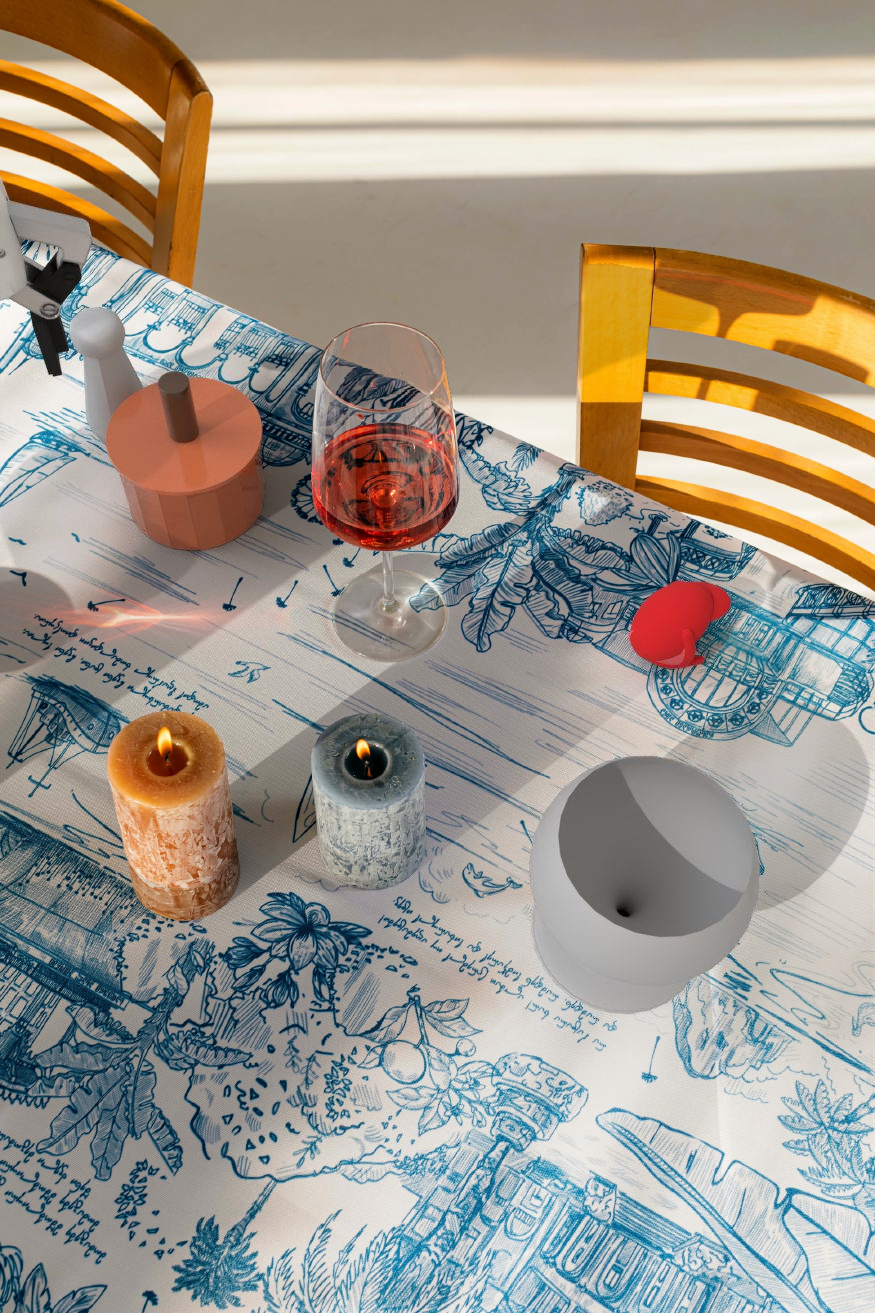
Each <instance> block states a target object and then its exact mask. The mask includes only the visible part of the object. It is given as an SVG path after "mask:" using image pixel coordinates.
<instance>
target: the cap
mask: <svg viewBox="0 0 875 1313" xmlns="http://www.w3.org/2000/svg"><path fill="white" fill-rule="evenodd" d="M731 605H732V600H731V596H730V595H729V593H728V592H726V590H725V589H723V588H721V587H720V586H718V585H716V584H713V583H709V582H704V581H684V580H676V581H673V582H671V583H669V584H667V585H665V586H663V587H661V588H659V589H658V590H656V591H654V592H653V593H652V594H650V596H648V597H647V598H646V599H645V600H644V601H643V603H642V604H641V605H640V606H639V607H638V609H637V611H636V612H635V615H634V616H633V618H632V621H631V624H630V629H629V632H628V636H627V638H628V642H629V644H630V646H631V648H632V649H633V651H634V652H635V653H636V655H638V656H639V657H640V658H642V659H644V660H646V661H647V662H649V663H652V664H653V665H654V666H657V667H660V668H663V669H669V670H675V669H686V668H688V667H689V668H690V667H693V666H700V665H702V664H703V663H704V662H705V656H704V655H696V653H697V648H696V643H697V641H699V640H700V639H701V637H703V635H704V634H705V632H706V631H707V629H708V628H709V625H710V623H711V622H714V621H717V620H718V619H720V618H722V617H723V616H725V615H726V614H727V613H728V612H729V610H730V608H731Z"/></svg>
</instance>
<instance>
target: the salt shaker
mask: <svg viewBox="0 0 875 1313" xmlns="http://www.w3.org/2000/svg"><path fill="white" fill-rule="evenodd" d="M68 333H69V334H68V335H69V338H70V340H71V343H72V346H73V347H74V350H75V351H76V353H79V354H80V355H82V360H83V362H82V363H83V379H84V380H83V381H84V402H85V403H84V404H85V419H86V422H87V424H88V426H89V428H90V430H91V432H92V434H93V435H95V436H96V437H97V438H98V439H99V440H100V441H101V442H102V443H103V444H104V445H106V431H107V427H108V424H109V421H110V419H111V417H112V416H113V414H114V412H115V411H116V410H117V408H118V407H119V406H120V405H121V404H122V403H123V402H124V401H125V400H126V399H127V398H128V397H130V396H131V395H132V394H134V393H135V392H137V391H139V390H140V389H142V388H144V387H145V386H144V385H143V383H142V381H141V379H140V377H139V375H138V374H137V372H136V370H135V367H134V366H133V364H132V362H131V361H130V360H131V359H130V358H129V356H128V354H127V352H126V351H125V348H124V343H125V338H126V327H125V326H124V323H123V322H122V319H121V318H120V316H119V314H118V313H117V312H115V311H113V310H112V309H110V308H106V307H100V306H95V307H87V308H85V309H83V310H81V311H79V312H78V313H76V314H75V316H74V317H73V318H72V319H71V320H70V323H69V327H68Z"/></svg>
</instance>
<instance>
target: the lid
mask: <svg viewBox="0 0 875 1313" xmlns="http://www.w3.org/2000/svg"><path fill="white" fill-rule="evenodd" d="M143 387H144V388H142V389H140V390H139V391H137V392H135V393H134V394H132V395H131V396H130V397H128V398H127V399H126V400H125V401H124V402H123V403H122V404H121V405H120V406H119V407H118V408H117V410H116V411H115V412H114V414H113V416H112V417H111V419H110V421H109V424H108V427H107V431H106V444H105V448H106V452H107V455H108V457H109V461H110V463H111V464H112V466H113V468H114V469H115V471H116V472H117V473H118V475H119V476H120V475H121V476H122V477H123V478H125V479H126V480H127V481H129V482H130V483H132V484H133V485H135V486H137V487H139V488H141V489H143V490H146V491H149V492H152V493H157V494H161V495H170V496H186V495H195V494H200V493H204V492H208V491H211V490H214V489H217V488H219V487H222V486H224V485H225V484H227V483H229V482H231V481H233V480H234V479H235V478H237V477H238V476H240V475H241V474H242V473H243V472H244V471H245V470H246V469H247V468H248V467H249V466H250V465H251V464H252V462H253V461H254V459H255V458H256V456H257V454H258V452H259V450H260V451H261V446H262V442H263V437H264V436H263V435H264V432H263V431H264V430H263V423H262V419H261V414H260V413H259V411H258V408H257V407H256V406H255V404H254V403H253V401H252V400H251V399H250V398H249V397H248V396H247V395H246V394H244V392H242V391H241V390H239V389H238V388H236V387H235V386H233V385H230V384H229V383H226V382H224V381H220V380H217V379H213V378H209V377H208V378H207V377H200V376H188V375H187V374H186V373H184V372H182V371H177V370H173V371H172V370H171V371H168V372H165V373H163V374H162V375H161V376H159V378H158V380H157V381H156V382H154V383H151V384H148V385H146V386H143Z"/></svg>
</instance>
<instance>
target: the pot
mask: <svg viewBox="0 0 875 1313" xmlns="http://www.w3.org/2000/svg"><path fill="white" fill-rule="evenodd" d="M261 454H262V453H261V449H260V450H259V452H258V454H257V456H256V458H255V459H254V461H253V462H252V464H251V465H250V466H249V467H248V468H247V469H246V470H245V471H244V472H243V473H242V474H241V475H240V476H238V477H237V478H235V479H234V480H233V481H231V482H229V483H227V484H225V485H224V486H222V487H219V488H217V489H214V490H211V491H208V492H204V493H200V494H195V495H186V496H170V495H161V494H157V493H152V492H149V491H146V490H143V489H141V488H139V487H137V486H135V485H133V484H132V483H130V482H129V481H127V480H126V479H125V478H123V477H122V476H121V475H120V474H119V478H120V480H121V485H122V488H123V491H124V493H125V498H126V501H127V504H128V508H129V511H130V516H131V517H132V519H133V521H134V523H135V525H136V526H137V527H138V529H139V530H140V531H141V532H142V533H143V534H144V535H145V536H146V537H148V538H149V539H150V540H152V541H153V542H155V543H158V544H159V545H162V546H164V547H167V548H172V549H175V550H181V551H182V550H183V551H202V550H203V551H204V550H209V549H213V548H217V547H220V546H223V545H225V544H227V543H231V542H232V541H233V540H235V539H237V538H239V537H240V536H242V535H243V534H244V533H246V532H247V531H248V530H249V529H250V528H251V527H252V526H253V524H255V522H256V520H258V518H259V516H260V514H261V512H262V510H263V506H264V503H265V494H266V493H265V491H266V483H265V476H264V468H263V464H262V463H263V462H262V456H261Z"/></svg>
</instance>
